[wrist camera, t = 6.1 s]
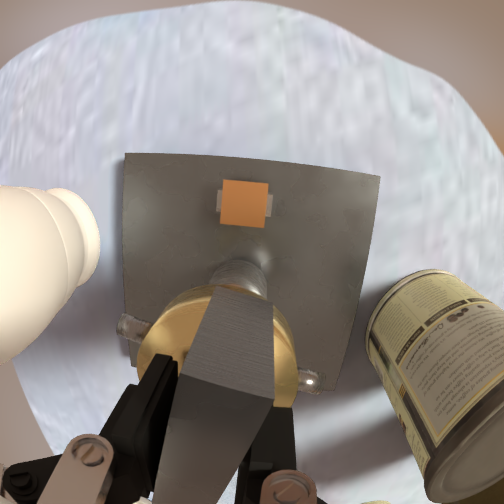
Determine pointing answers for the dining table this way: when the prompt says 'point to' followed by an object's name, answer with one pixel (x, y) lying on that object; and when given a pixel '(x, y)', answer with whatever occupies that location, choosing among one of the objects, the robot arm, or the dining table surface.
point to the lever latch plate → (250, 241)
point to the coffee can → (444, 379)
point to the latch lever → (217, 383)
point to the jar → (41, 259)
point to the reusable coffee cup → (377, 502)
